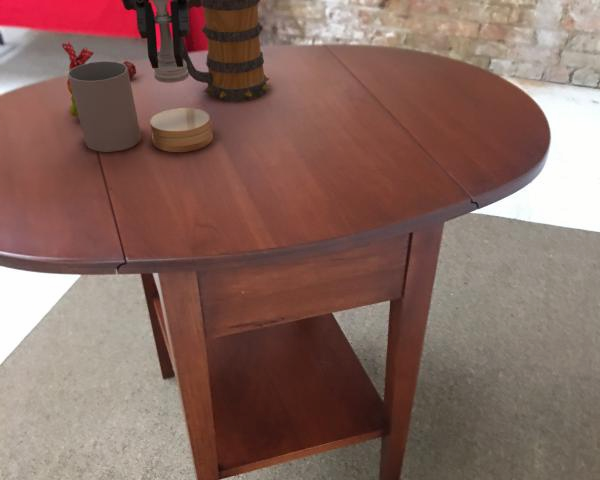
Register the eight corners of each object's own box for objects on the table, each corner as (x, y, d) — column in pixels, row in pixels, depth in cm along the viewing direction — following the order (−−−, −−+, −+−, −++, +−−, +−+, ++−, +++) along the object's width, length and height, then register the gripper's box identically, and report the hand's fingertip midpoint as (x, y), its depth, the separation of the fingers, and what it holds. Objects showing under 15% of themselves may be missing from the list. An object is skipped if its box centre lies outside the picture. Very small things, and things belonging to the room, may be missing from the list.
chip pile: (139, 143, 97) (135, 123, 95) (181, 122, 102) (178, 103, 100) (185, 158, 93) (182, 137, 91) (226, 135, 98) (224, 116, 96)
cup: (119, 155, 94) (102, 84, 87) (74, 146, 97) (55, 76, 90) (151, 133, 99) (138, 65, 92) (108, 125, 102) (93, 58, 95)
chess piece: (186, 83, 81) (174, -8, 74) (152, 83, 81) (136, -7, 74) (191, 71, 84) (179, -17, 77) (158, 71, 84) (143, -17, 77)
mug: (285, 95, 110) (281, -43, 96) (192, 114, 105) (172, -29, 91) (256, 73, 118) (248, -57, 104) (168, 89, 113) (146, -45, 99)
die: (137, 75, 119) (134, 57, 117) (137, 80, 117) (133, 63, 114) (121, 76, 118) (118, 58, 116) (121, 81, 116) (117, 64, 114)
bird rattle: (65, 126, 108) (76, 120, 100) (40, 53, 103) (49, 41, 95) (101, 118, 110) (113, 111, 102) (77, 47, 105) (89, 34, 98)
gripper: (218, -108, 82) (231, 74, 82) (97, -104, 81) (110, 80, 81) (212, -160, 74) (226, 41, 74) (79, -155, 73) (93, 47, 74)
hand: (166, 61), depth 78 cm, fingers closed on chess piece, 2 cm apart
